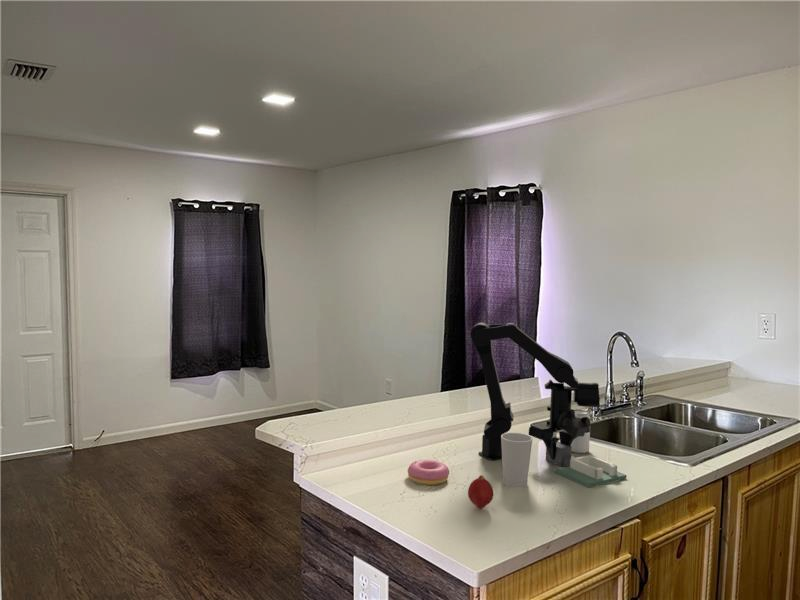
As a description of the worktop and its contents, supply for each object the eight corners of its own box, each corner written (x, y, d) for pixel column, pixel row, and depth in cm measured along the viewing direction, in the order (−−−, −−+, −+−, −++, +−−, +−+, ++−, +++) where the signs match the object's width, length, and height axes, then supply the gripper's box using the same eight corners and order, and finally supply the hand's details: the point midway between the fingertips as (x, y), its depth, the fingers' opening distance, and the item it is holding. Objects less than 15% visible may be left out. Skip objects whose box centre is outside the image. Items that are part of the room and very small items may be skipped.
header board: (588, 487, 151) (589, 474, 151) (555, 472, 162) (555, 459, 161) (626, 478, 158) (627, 465, 158) (591, 464, 168) (592, 452, 168)
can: (590, 454, 177) (592, 415, 176) (567, 452, 178) (569, 413, 178) (587, 448, 183) (589, 410, 183) (566, 446, 185) (567, 408, 184)
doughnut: (401, 474, 158) (401, 459, 157) (438, 470, 162) (439, 455, 161) (416, 489, 148) (417, 473, 147) (456, 484, 151) (456, 468, 151)
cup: (532, 479, 156) (534, 434, 155) (528, 490, 148) (530, 443, 148) (502, 475, 158) (503, 431, 158) (496, 485, 151) (498, 439, 150)
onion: (465, 503, 139) (466, 470, 139) (489, 503, 140) (490, 470, 139) (470, 514, 134) (471, 479, 133) (495, 513, 134) (496, 479, 134)
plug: (563, 467, 166) (564, 449, 165) (545, 459, 172) (546, 442, 172) (573, 465, 168) (574, 447, 167) (555, 457, 174) (556, 440, 173)
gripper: (556, 415, 158) (554, 472, 159) (606, 407, 167) (603, 462, 168) (528, 405, 167) (526, 459, 168) (576, 399, 176) (573, 450, 177)
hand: (558, 458), depth 170 cm, fingers closed on plug, 4 cm apart
